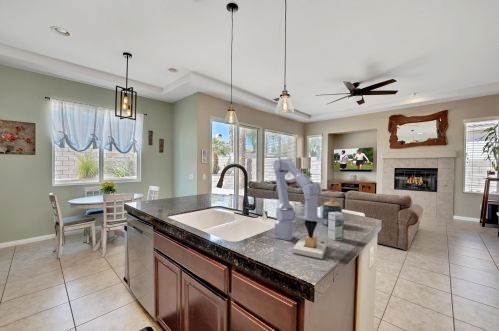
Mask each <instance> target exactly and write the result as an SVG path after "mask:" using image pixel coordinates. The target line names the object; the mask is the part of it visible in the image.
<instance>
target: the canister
mask: <svg viewBox="0 0 499 331" xmlns="http://www.w3.org/2000/svg"><path fill="white" fill-rule="evenodd" d="M321 208H322V211H321V213H322V214H321V215H322V216H321V218H322V219H327V224H323V223H321V224H322V225H323V226H325V227H328V213H329V212H340V213H343V212H342V211H343V207H342V204H341V203H339V202H338V201H335V199H334V198H331V199H330V201H325V202H324V203H323V205H322V206H321Z"/></svg>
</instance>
